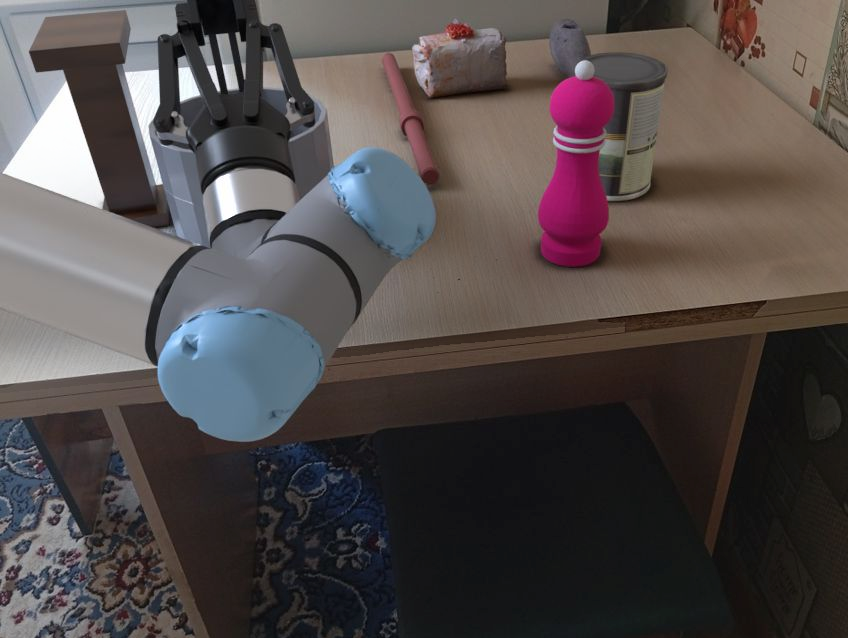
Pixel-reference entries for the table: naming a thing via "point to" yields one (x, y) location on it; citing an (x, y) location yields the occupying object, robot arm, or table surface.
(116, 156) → the pedestal
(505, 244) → the table surface
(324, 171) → the pot
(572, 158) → the pepper mill
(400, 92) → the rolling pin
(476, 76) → the food item
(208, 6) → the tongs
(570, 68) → the perforated stone tool
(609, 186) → the coffee can
